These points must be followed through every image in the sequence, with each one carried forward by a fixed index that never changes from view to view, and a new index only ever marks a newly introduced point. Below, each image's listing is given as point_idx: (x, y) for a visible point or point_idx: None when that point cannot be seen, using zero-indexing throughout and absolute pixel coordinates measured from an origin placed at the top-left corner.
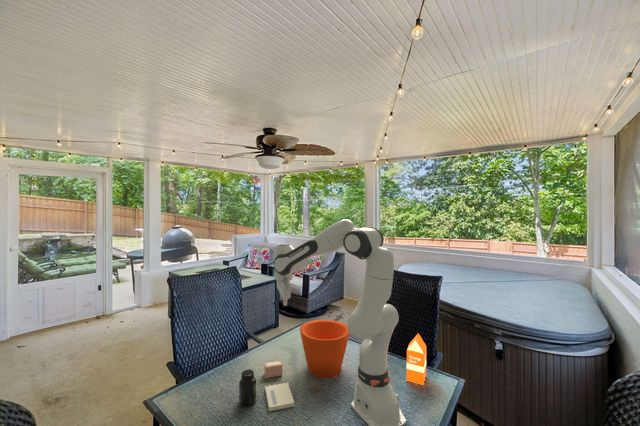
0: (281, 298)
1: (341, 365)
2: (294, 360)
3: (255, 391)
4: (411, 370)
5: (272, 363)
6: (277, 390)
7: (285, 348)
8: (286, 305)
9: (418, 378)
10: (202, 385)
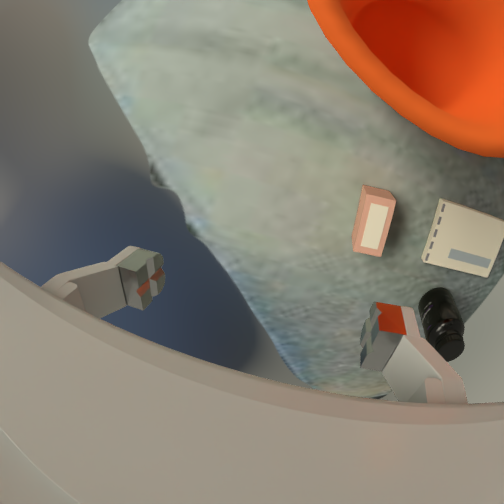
0: (150, 287)
1: (451, 18)
2: (315, 115)
3: (456, 307)
4: None
5: (372, 229)
6: (456, 240)
7: (216, 120)
8: (409, 312)
9: None
10: (322, 357)
